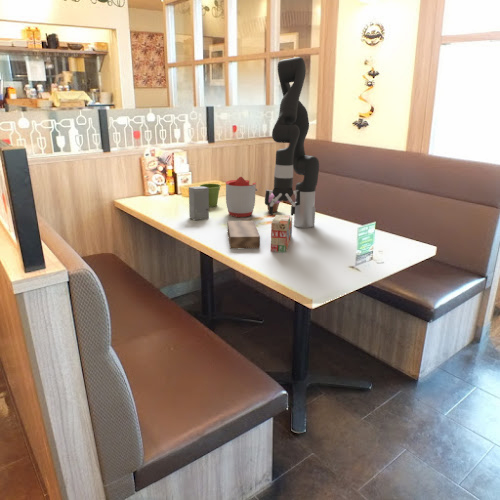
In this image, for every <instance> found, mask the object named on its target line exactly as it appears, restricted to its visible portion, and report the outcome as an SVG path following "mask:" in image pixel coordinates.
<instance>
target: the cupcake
mask: <svg viewBox="0 0 500 500" xmlns="http://www.w3.org/2000/svg"><path fill="white" fill-rule="evenodd" d="M273 197H274V195H273V193H272V194H271V195H270V196H269V202H271V200H272V199H273ZM281 202H282V201H278V200H277V201H276V203H274V205H273V213H277V212H278V209H279V205H280V204H281ZM266 206H267V211H268V212H269V206H268V205H266Z"/></svg>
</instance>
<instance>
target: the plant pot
mask: <svg viewBox="0 0 500 500" xmlns="http://www.w3.org/2000/svg"><path fill="white" fill-rule="evenodd" d="M200 186H204V187H207V188H209V207H216V206H218V203H219V202H218V201H219V193H220V189H221V186H222V184H219V183H202V184H199V187H200Z"/></svg>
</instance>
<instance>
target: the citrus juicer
mask: <svg viewBox="0 0 500 500" xmlns="http://www.w3.org/2000/svg"><path fill="white" fill-rule="evenodd" d="M256 192H258V188H257V182H253V183H252V184H250V180H249V179H245V178H244V177H242V176H239V177H238V178H237V179H231V180H227V181H225V204H226V208H227V212H228V214H229V216H232V217H235V218H245V217H250V215H251V216H252V214H253V212H254V209H255V205H256Z"/></svg>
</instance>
